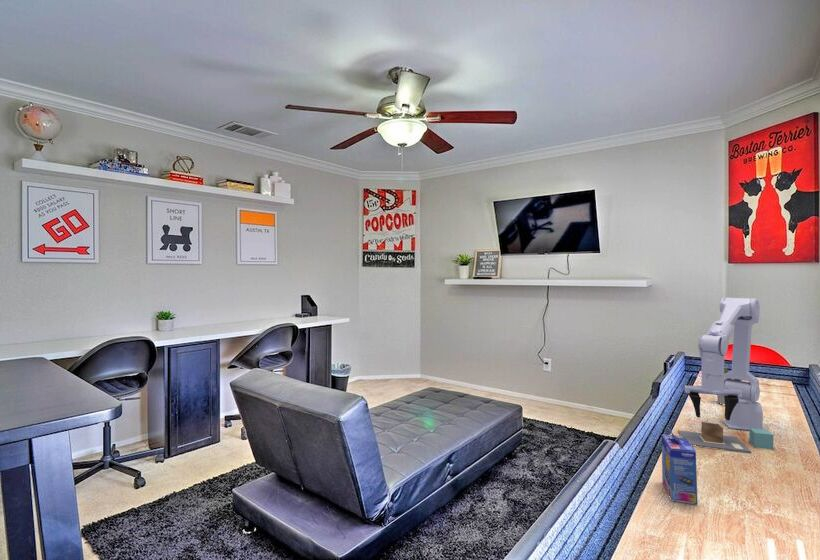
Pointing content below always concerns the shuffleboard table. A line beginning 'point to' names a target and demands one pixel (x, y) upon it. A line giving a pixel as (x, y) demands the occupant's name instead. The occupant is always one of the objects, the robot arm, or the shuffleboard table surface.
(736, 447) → the board
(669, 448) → the ink cartridge box
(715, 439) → the walnut block
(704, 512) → the shuffleboard table surface
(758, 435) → the teal block
